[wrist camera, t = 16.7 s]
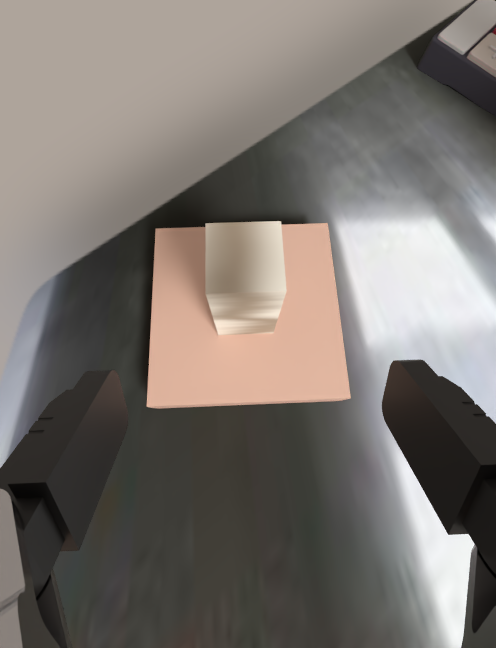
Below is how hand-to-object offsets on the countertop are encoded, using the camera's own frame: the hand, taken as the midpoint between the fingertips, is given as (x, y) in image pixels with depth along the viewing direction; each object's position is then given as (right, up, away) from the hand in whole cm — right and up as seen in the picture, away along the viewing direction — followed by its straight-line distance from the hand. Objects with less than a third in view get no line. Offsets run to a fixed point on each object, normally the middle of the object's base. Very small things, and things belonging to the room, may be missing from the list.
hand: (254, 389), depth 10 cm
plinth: (0, +3, +21) cm, 21 cm away
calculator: (+30, +33, +31) cm, 54 cm away
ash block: (0, +3, +18) cm, 18 cm away
